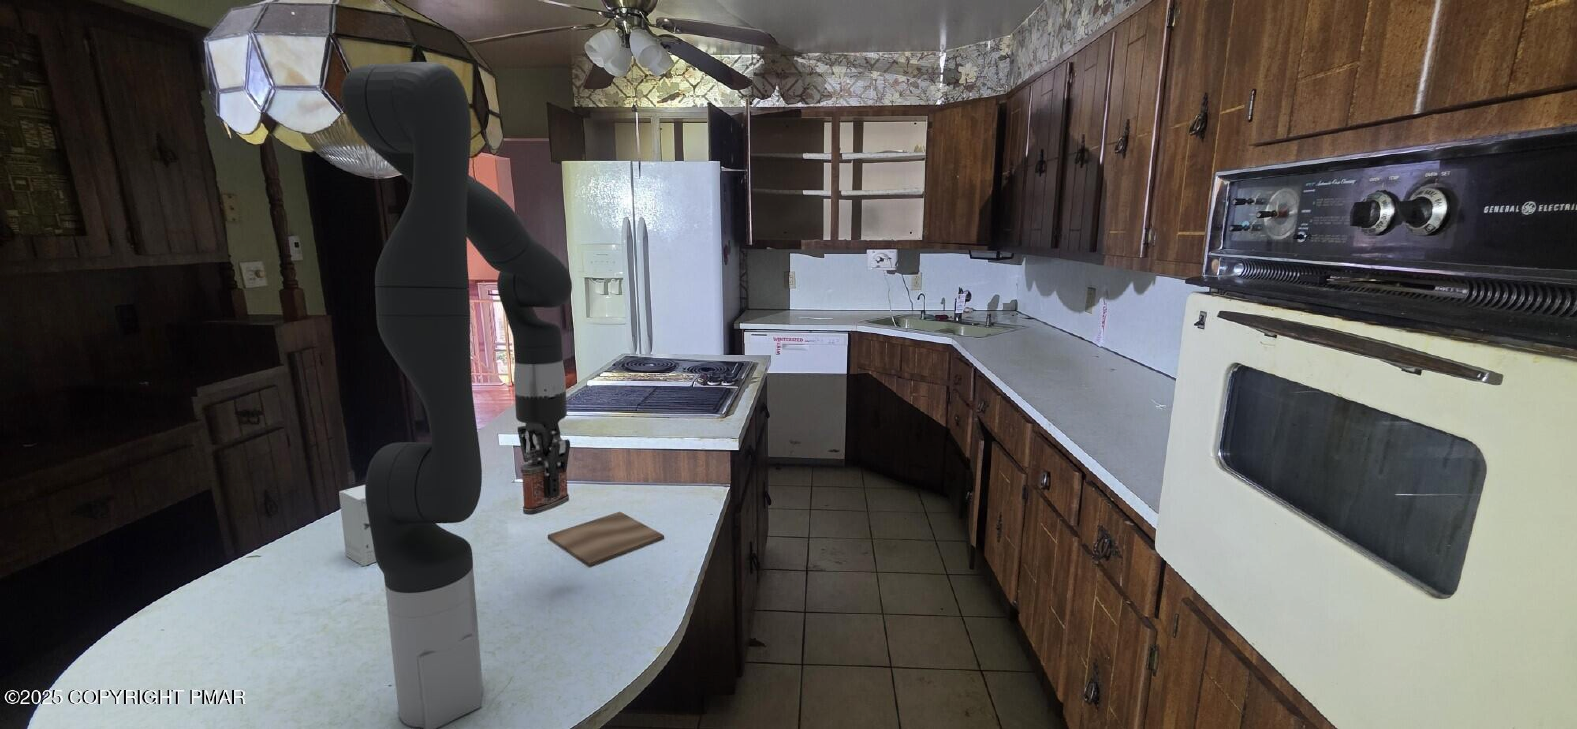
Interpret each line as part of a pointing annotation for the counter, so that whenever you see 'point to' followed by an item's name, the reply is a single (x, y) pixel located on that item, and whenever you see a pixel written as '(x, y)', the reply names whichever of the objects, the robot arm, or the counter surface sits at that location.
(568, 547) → the board
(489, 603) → the counter surface
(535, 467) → the lighter
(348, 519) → the supplement box
